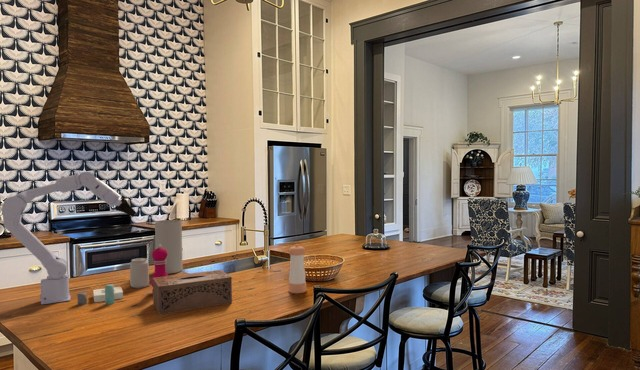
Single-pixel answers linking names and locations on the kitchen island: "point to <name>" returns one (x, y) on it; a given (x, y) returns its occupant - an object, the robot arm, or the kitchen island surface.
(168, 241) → the cylinder vase
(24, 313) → the kitchen island surface
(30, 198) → the robot arm
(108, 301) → the long dowel
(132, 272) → the can
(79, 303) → the short dowel
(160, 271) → the pepper mill
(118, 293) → the hole block
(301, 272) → the pepper shaker
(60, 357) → the kitchen island surface
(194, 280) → the tissue box cover
